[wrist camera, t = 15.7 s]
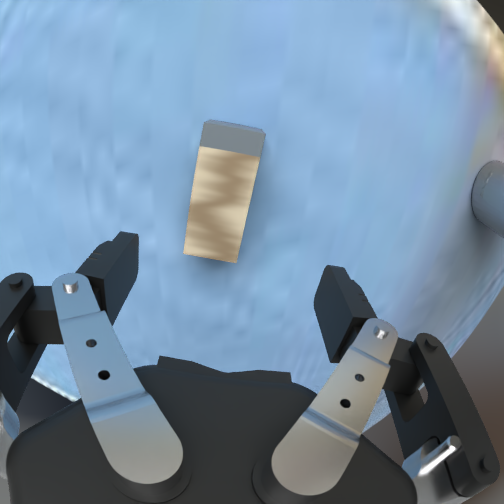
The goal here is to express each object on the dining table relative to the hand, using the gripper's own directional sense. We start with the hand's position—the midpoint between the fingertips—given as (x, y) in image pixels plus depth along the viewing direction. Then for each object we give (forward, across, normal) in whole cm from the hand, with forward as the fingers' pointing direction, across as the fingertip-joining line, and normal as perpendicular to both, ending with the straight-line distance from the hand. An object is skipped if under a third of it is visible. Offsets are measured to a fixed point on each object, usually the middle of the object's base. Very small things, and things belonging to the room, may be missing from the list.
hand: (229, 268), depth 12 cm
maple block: (+16, +1, +7) cm, 18 cm away
